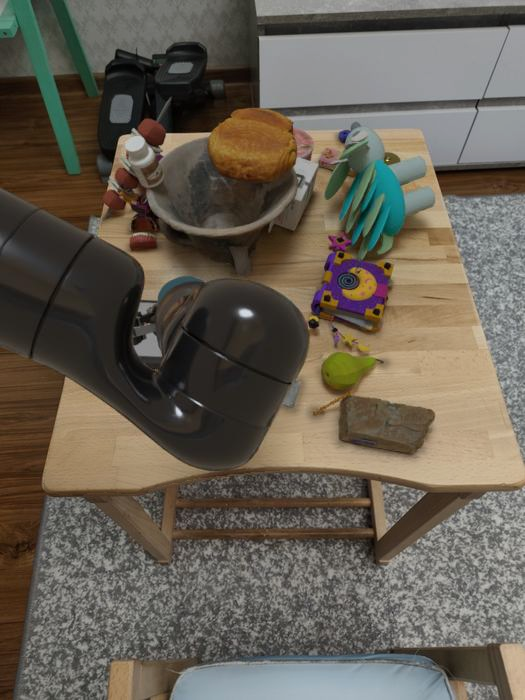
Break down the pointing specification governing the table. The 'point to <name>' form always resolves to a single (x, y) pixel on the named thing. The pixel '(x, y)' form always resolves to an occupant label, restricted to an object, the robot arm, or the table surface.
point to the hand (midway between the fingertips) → (185, 305)
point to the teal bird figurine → (377, 189)
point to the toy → (331, 156)
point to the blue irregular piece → (343, 135)
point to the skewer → (126, 175)
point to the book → (351, 291)
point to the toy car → (137, 203)
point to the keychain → (332, 402)
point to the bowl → (215, 206)
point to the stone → (383, 423)
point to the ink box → (298, 194)
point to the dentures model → (143, 238)
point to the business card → (292, 395)
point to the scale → (149, 342)
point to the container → (303, 144)
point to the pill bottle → (144, 162)
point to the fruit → (345, 369)
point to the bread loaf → (253, 146)
